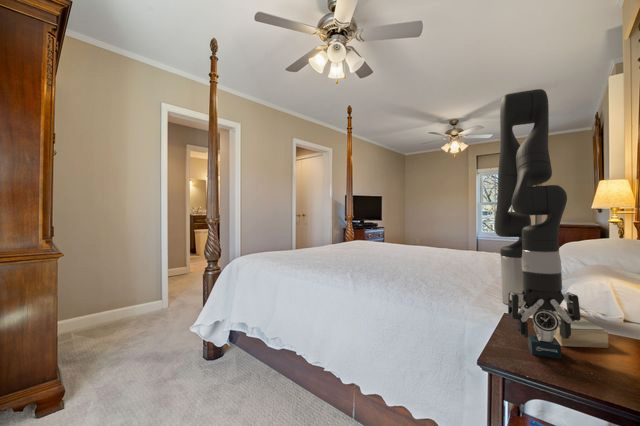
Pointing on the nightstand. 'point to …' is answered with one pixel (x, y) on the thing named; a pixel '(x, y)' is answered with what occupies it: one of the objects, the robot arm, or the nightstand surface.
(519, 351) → the nightstand surface
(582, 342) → the oak riser
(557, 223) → the robot arm
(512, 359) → the nightstand surface
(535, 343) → the watch
